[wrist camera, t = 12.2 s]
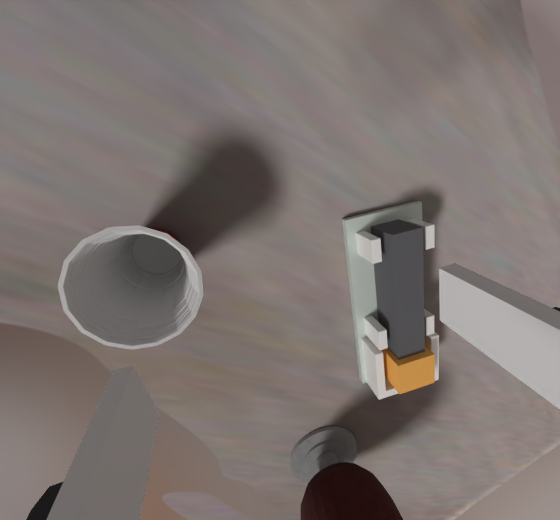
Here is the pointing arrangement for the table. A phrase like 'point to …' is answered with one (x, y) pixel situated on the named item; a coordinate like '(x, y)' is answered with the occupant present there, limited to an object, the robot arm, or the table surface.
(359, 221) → the board
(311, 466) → the mate gourd
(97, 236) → the plastic cup
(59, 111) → the table surface
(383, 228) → the bar
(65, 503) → the robot arm
